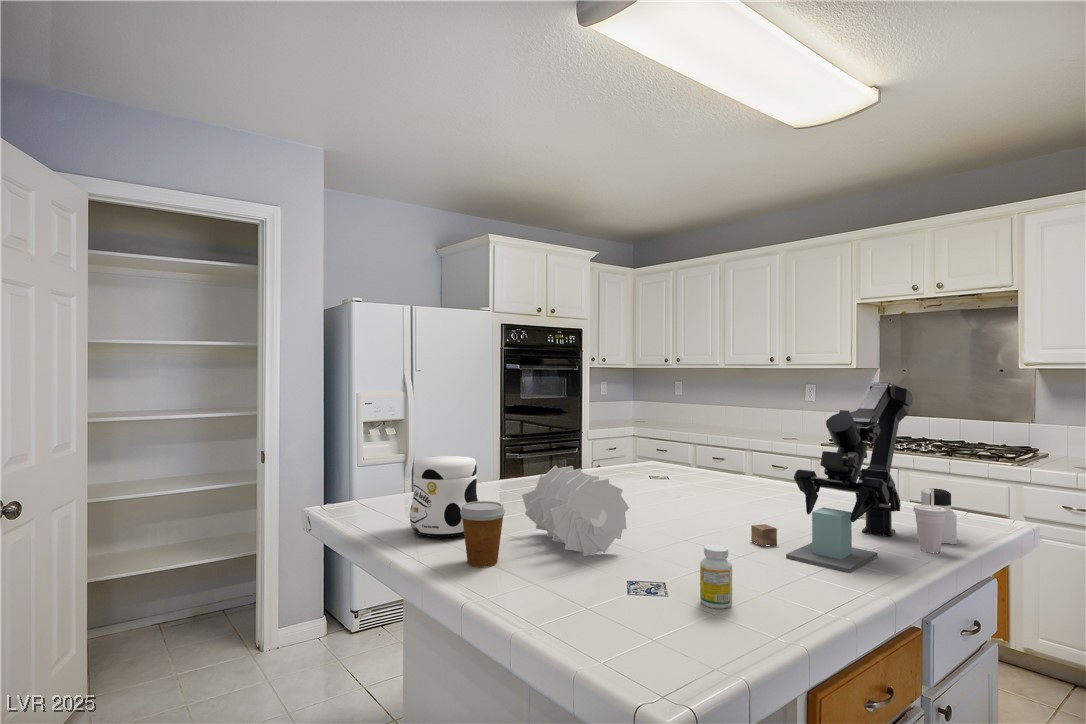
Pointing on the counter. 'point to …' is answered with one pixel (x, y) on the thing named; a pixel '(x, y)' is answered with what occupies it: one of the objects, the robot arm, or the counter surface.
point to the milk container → (442, 494)
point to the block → (764, 534)
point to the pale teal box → (831, 533)
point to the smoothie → (930, 525)
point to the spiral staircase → (577, 509)
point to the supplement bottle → (716, 577)
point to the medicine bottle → (950, 521)
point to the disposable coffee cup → (482, 531)
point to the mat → (843, 564)
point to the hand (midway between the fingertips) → (829, 517)
